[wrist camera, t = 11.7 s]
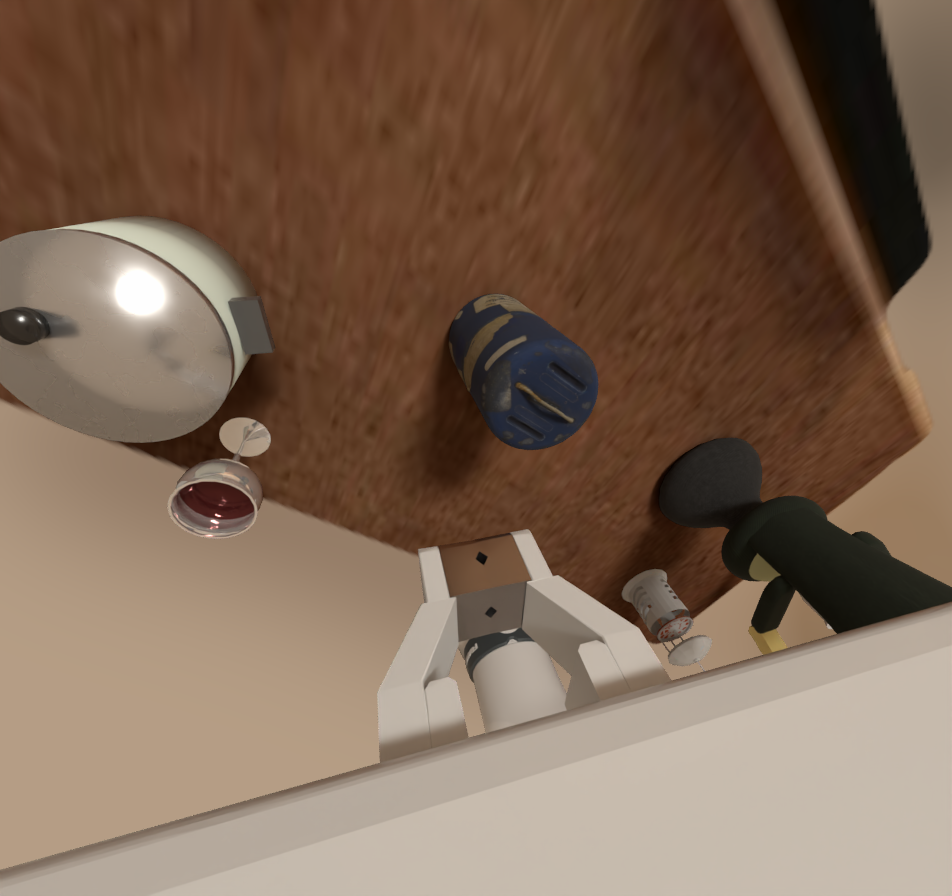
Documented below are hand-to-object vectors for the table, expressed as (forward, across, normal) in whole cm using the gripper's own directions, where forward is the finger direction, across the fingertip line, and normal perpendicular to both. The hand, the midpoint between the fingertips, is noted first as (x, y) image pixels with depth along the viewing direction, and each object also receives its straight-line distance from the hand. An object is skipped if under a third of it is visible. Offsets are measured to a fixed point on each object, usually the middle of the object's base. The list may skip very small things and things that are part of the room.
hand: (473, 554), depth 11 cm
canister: (+35, -10, +6) cm, 37 cm away
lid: (+25, +19, +1) cm, 31 cm away
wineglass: (+35, +17, +15) cm, 42 cm away
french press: (+35, -43, +60) cm, 82 cm away
